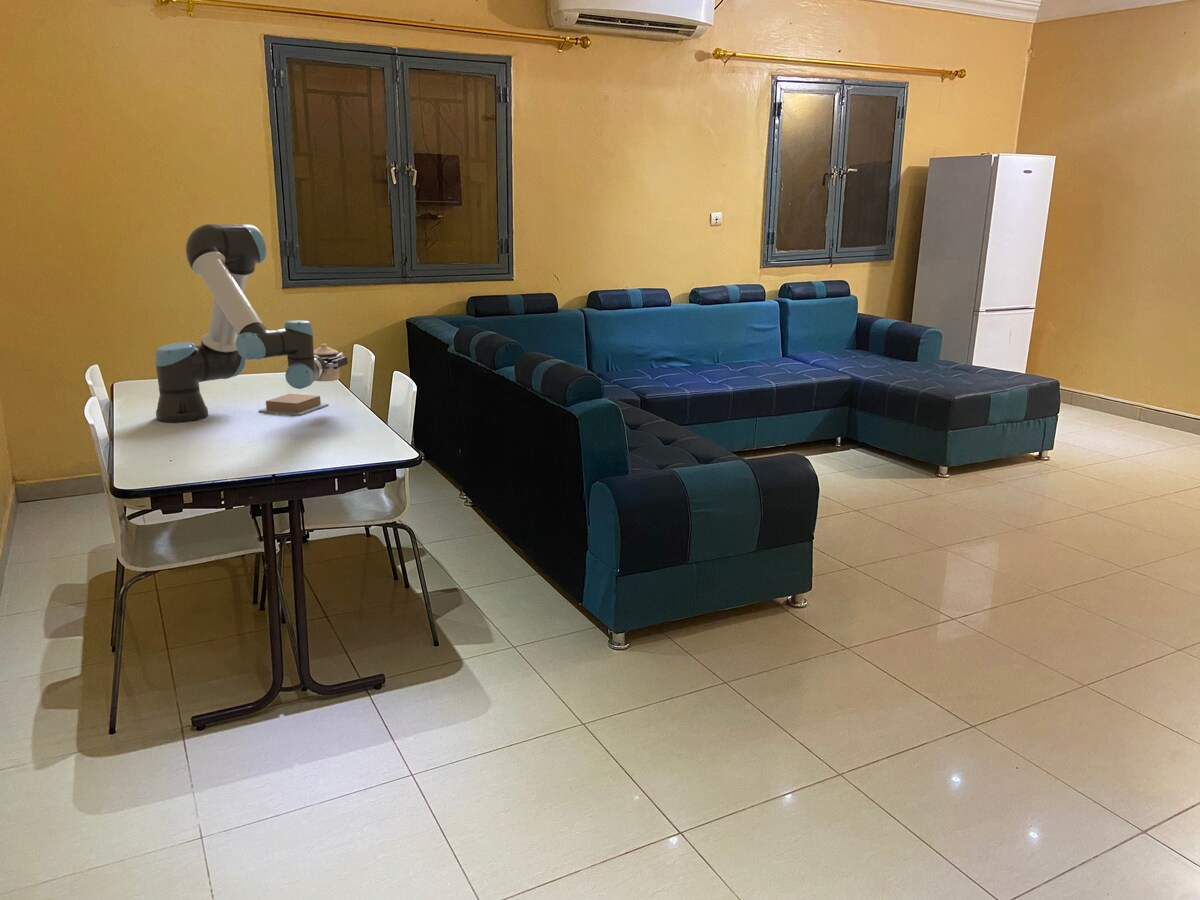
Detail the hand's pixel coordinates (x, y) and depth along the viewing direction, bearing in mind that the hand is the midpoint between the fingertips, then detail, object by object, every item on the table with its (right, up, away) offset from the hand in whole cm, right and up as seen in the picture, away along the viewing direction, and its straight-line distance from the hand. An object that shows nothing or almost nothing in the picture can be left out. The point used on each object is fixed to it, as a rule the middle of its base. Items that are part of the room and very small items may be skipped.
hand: (326, 356), depth 290 cm
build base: (-13, -17, +5) cm, 22 cm away
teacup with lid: (+1, -8, -2) cm, 9 cm away
